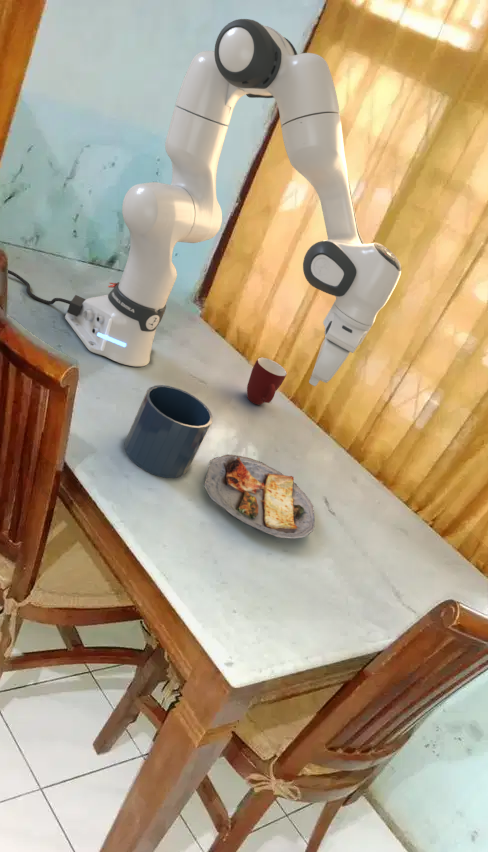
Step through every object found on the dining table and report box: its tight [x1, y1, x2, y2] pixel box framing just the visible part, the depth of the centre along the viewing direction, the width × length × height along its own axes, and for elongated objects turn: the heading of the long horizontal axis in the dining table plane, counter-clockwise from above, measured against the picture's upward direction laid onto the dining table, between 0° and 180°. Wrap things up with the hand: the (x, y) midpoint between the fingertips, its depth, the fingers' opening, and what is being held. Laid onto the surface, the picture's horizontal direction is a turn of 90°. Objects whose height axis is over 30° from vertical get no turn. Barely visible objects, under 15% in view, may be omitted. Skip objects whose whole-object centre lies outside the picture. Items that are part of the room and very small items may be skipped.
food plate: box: [203, 454, 316, 539], centre depth 142 cm, size 25×23×4 cm
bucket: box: [123, 384, 214, 479], centre depth 137 cm, size 13×13×12 cm
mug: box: [246, 356, 288, 406], centre depth 177 cm, size 10×8×10 cm
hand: (312, 382), depth 151 cm, fingers closed
